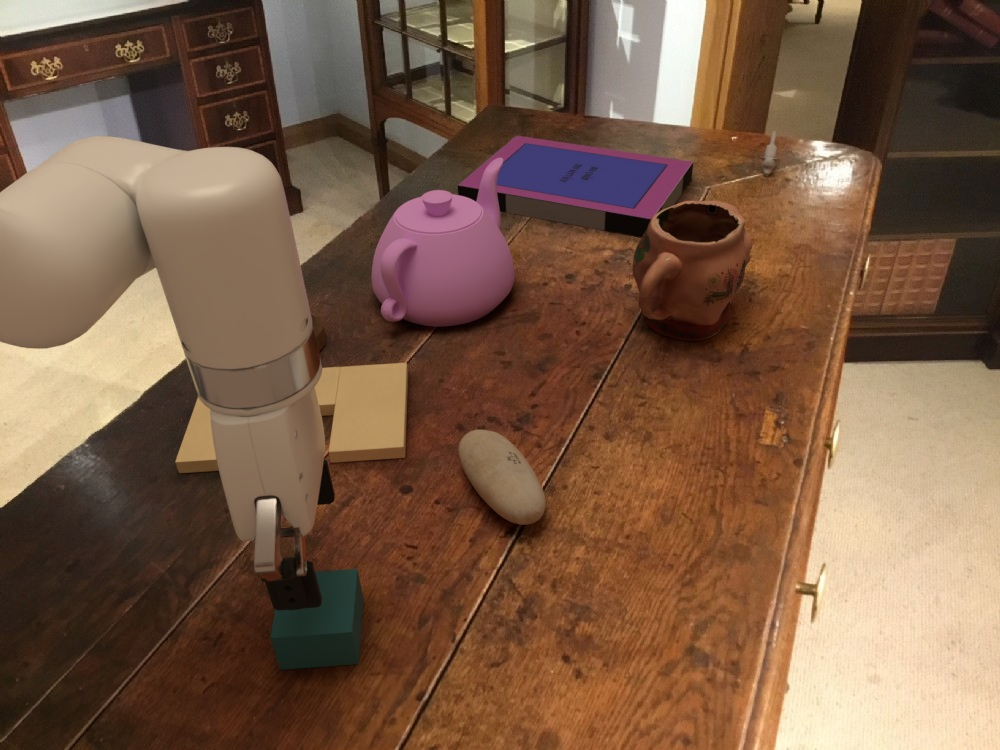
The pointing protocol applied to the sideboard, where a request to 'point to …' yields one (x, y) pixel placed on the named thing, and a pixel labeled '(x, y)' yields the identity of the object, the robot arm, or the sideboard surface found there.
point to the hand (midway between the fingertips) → (307, 550)
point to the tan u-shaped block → (356, 423)
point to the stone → (502, 476)
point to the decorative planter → (691, 268)
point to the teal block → (322, 625)
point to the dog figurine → (770, 156)
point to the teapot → (444, 257)
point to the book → (583, 184)
